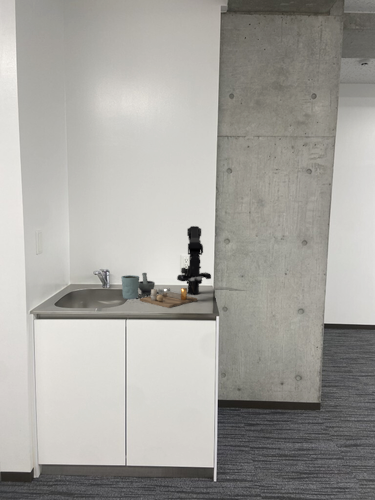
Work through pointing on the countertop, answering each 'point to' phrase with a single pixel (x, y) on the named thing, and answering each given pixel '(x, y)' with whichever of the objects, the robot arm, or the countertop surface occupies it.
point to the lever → (174, 293)
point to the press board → (166, 300)
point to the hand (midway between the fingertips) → (194, 292)
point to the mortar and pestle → (146, 285)
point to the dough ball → (159, 297)
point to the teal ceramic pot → (130, 286)
